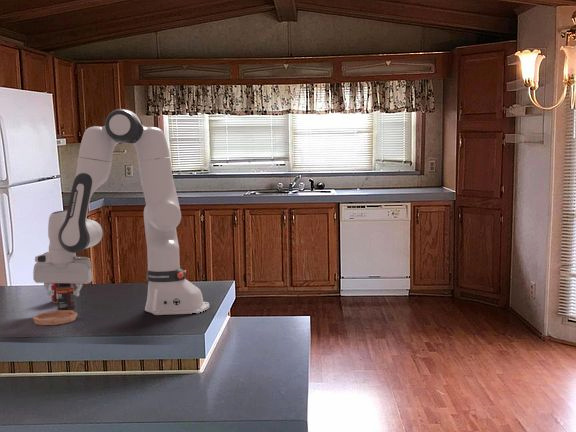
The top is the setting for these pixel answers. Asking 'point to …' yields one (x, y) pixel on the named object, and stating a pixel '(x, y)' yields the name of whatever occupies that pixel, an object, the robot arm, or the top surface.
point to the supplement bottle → (65, 297)
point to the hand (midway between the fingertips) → (63, 295)
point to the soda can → (54, 297)
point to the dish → (55, 317)
